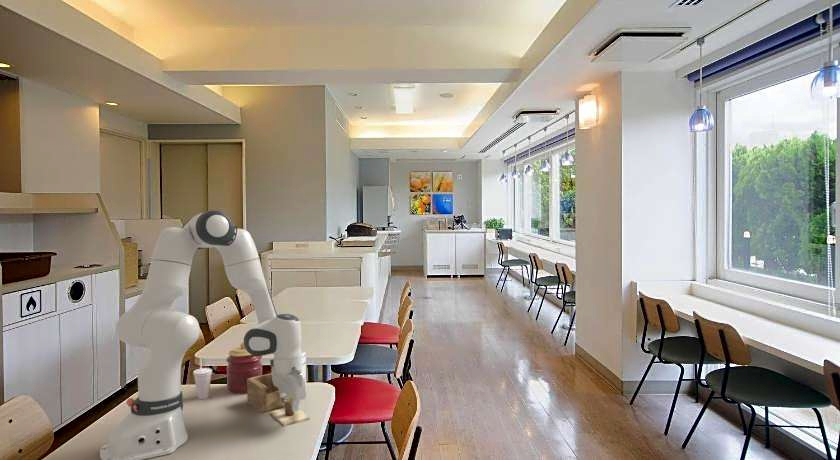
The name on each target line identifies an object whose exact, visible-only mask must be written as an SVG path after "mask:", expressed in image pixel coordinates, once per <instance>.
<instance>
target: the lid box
mask: <svg viewBox="0 0 840 460" xmlns="http://www.w3.org/2000/svg"><path fill="white" fill-rule="evenodd" d="M246 394H247V397H246V398H247V402H248V403H249V405H250V404H251V406H252V407H254V408H256V409H257V410H258V411H260V412H261V413H263V414H266V413H267V414H268V413H270V411H274V410H279V409H283V408H285V402H284V403H282V402H281V401H280V394H279V391H278V388H277V387H276V386H274V385H273V382H272V372H270V373H267V374H262V375H261V376H257V377H252V378H248V379H247V393H246ZM286 396H287V401H292V398H291V397H289V396H288V395H286Z"/></svg>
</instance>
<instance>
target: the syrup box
mask: <svg viewBox="0 0 840 460" xmlns="http://www.w3.org/2000/svg"><path fill="white" fill-rule="evenodd" d="M306 356H307V354H306V352H305V351H302V369H301V370H300V372H301V374H302V375H303V376H304V378H305V383H306V384H307V357H306Z"/></svg>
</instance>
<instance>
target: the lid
mask: <svg viewBox="0 0 840 460" xmlns="http://www.w3.org/2000/svg"><path fill="white" fill-rule="evenodd" d="M292 404H293V401H287V402H285V408H282V409H278V410H274V411H270V412H269V413H270V415H272V417H274V418H275V420H277V421H278V422H279V423H280V424H282V425H283V426H284V427H287V426H290V425H294V424H298V423H301V422H306V421H310V417H309V415H307V414H306V413H304V412H303V411H302V410H301V409H299V408H298V411H293V410H292V409H291V408H292V407H291V405H292Z"/></svg>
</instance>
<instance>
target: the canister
mask: <svg viewBox="0 0 840 460" xmlns="http://www.w3.org/2000/svg"><path fill="white" fill-rule="evenodd" d="M228 355H229V356H227V358H226V360H225V361H226V362H227V367H226V378H227V379H226V380H227V382H226V388H227V391H228V392H229V393H232V394H238V395H239V394H241V395H242V394H247V379H248V378H252V377H257V376H261V375H263V363H262V360H261V359H263V355H262V356H254V355H251V354H250V353H248V352H247V350H246V349H245V347H244V341H243V342H241V343H240V346H235V347H234V348H232V349H231V350H230V351H229V352H228Z"/></svg>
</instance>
